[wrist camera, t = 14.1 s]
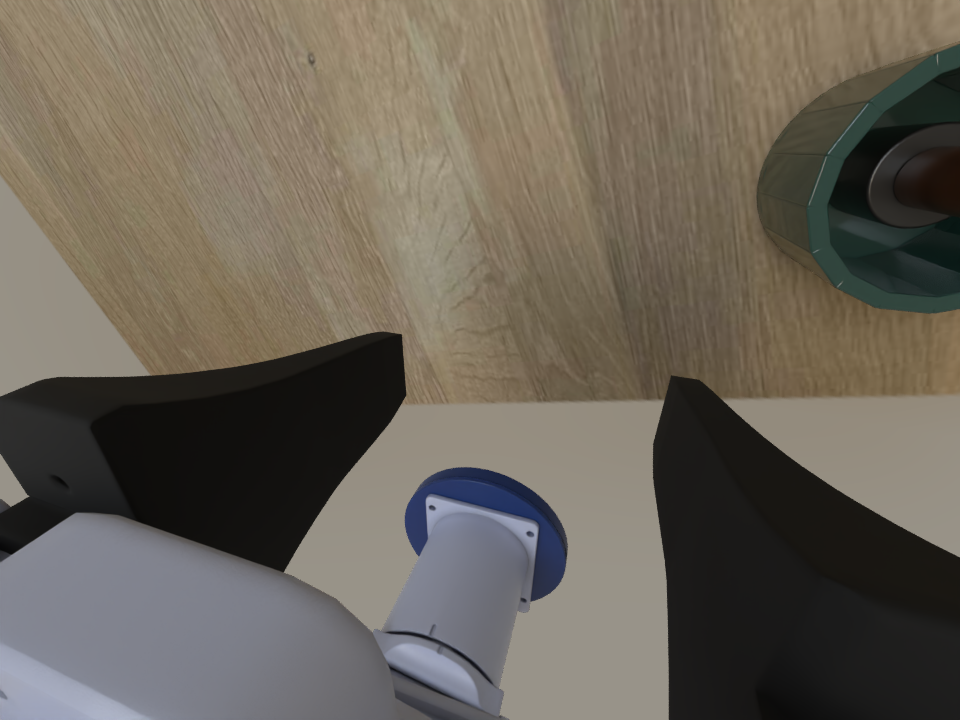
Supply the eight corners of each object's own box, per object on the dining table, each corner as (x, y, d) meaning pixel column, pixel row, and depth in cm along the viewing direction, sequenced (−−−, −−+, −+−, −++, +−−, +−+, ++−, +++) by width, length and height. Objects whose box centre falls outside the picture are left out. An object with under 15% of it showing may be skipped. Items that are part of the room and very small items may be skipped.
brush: (902, 216, 15) (1087, 263, 9) (810, 212, 15) (925, 252, 10) (944, 126, 13) (1194, 109, 8) (842, 126, 14) (996, 109, 8)
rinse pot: (928, 274, 16) (1056, 327, 11) (734, 258, 17) (773, 298, 13) (1040, 61, 13) (1281, 10, 8) (791, 67, 14) (870, 29, 10)
